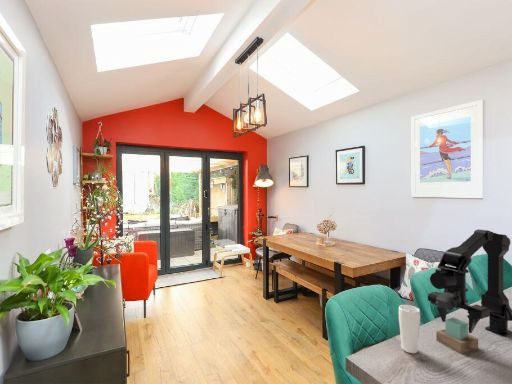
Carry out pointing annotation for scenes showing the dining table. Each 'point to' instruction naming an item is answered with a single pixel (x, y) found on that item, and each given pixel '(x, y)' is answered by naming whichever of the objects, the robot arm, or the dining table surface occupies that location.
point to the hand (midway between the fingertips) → (456, 327)
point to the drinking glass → (409, 327)
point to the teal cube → (456, 328)
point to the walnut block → (457, 342)
